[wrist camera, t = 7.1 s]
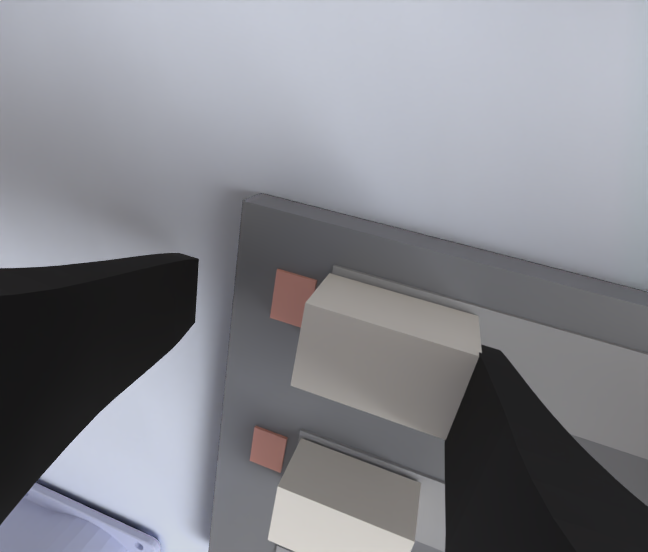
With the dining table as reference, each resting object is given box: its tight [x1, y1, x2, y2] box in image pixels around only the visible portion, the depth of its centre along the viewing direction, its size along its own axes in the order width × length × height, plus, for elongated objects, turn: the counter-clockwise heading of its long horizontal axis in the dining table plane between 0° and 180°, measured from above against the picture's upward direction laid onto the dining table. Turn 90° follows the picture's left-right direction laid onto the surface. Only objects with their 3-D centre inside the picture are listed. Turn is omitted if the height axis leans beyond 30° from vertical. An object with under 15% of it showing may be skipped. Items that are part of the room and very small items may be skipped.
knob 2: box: [268, 438, 421, 552], centre depth 13 cm, size 4×2×2 cm, turn 80°
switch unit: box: [208, 193, 648, 552], centre depth 14 cm, size 15×17×1 cm
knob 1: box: [290, 273, 482, 440], centre depth 11 cm, size 4×2×2 cm, turn 79°
